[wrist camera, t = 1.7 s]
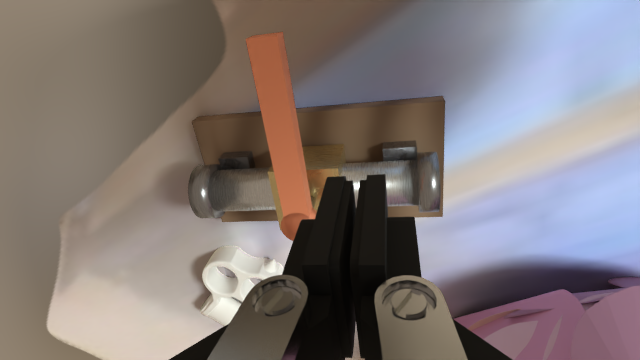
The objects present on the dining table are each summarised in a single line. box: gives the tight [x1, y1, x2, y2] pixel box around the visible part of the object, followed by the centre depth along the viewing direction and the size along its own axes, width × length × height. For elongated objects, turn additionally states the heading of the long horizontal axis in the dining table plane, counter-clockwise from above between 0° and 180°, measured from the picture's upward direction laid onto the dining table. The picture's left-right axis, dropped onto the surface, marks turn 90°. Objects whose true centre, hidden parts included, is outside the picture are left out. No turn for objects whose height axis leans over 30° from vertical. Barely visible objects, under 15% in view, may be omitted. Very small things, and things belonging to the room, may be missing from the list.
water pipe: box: [188, 140, 441, 230], centre depth 34 cm, size 22×6×8 cm, turn 98°
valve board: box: [192, 96, 445, 222], centre depth 38 cm, size 24×12×2 cm, turn 98°
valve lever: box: [246, 32, 317, 241], centre depth 27 cm, size 3×15×1 cm, turn 8°
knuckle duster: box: [200, 246, 284, 326], centre depth 49 cm, size 3×18×15 cm
